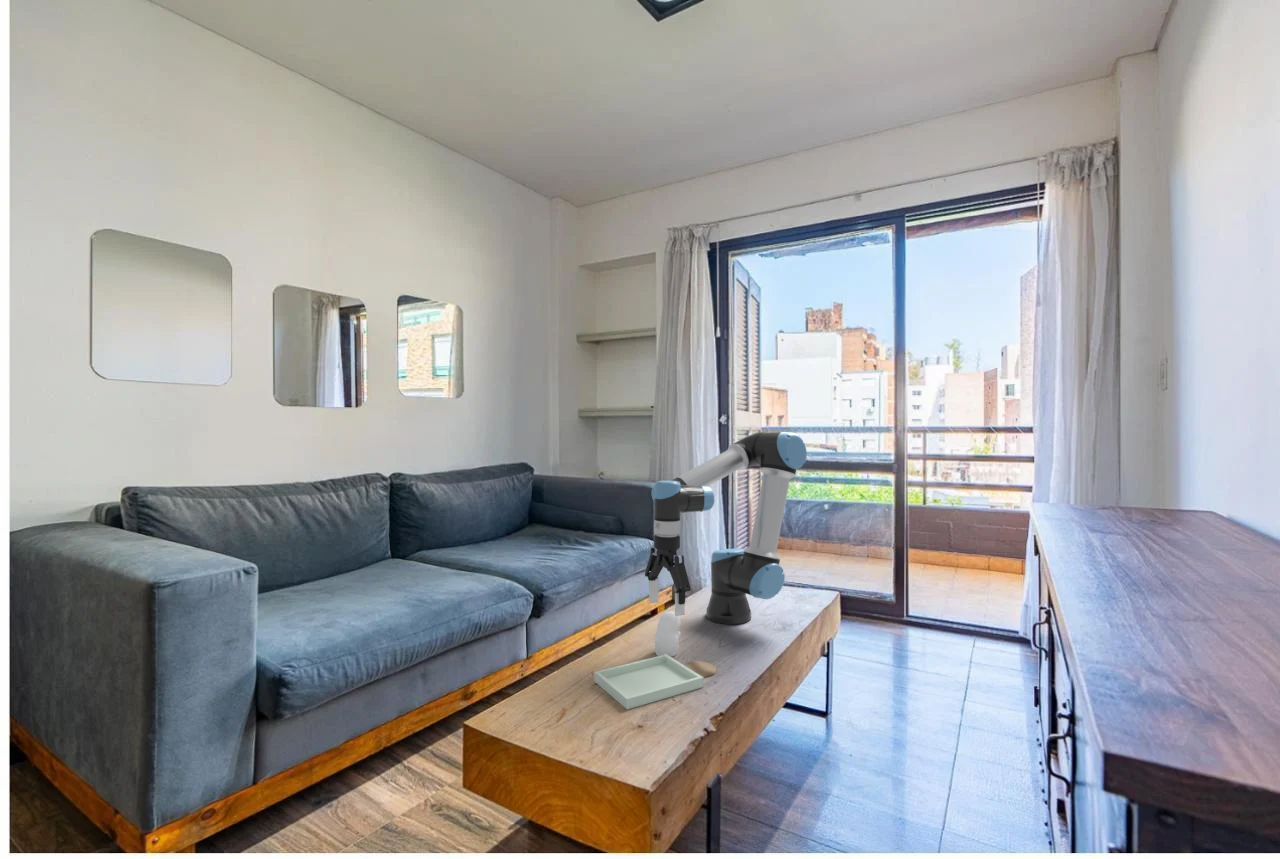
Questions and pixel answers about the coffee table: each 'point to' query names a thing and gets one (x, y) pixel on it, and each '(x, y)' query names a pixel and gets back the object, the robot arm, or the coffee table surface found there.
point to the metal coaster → (702, 668)
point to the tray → (648, 680)
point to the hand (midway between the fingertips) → (666, 608)
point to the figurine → (667, 634)
